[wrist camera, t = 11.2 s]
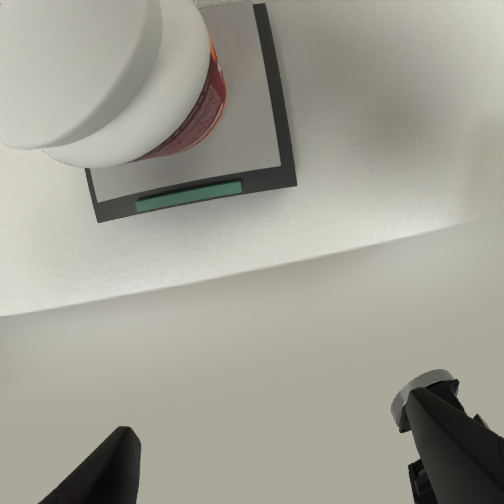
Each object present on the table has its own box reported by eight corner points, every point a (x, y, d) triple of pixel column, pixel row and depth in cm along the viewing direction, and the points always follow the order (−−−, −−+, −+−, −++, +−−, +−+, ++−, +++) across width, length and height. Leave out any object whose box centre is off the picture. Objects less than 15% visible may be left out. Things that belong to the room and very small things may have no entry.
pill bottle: (252, 81, 14) (265, -26, 4) (182, 177, 16) (74, 249, 5) (158, 26, 13) (55, -84, 2) (94, 118, 14) (-67, 121, 4)
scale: (292, 181, 19) (299, 188, 16) (110, 215, 19) (91, 227, 16) (263, 15, 15) (266, -3, 12) (83, 61, 15) (62, 53, 13)
